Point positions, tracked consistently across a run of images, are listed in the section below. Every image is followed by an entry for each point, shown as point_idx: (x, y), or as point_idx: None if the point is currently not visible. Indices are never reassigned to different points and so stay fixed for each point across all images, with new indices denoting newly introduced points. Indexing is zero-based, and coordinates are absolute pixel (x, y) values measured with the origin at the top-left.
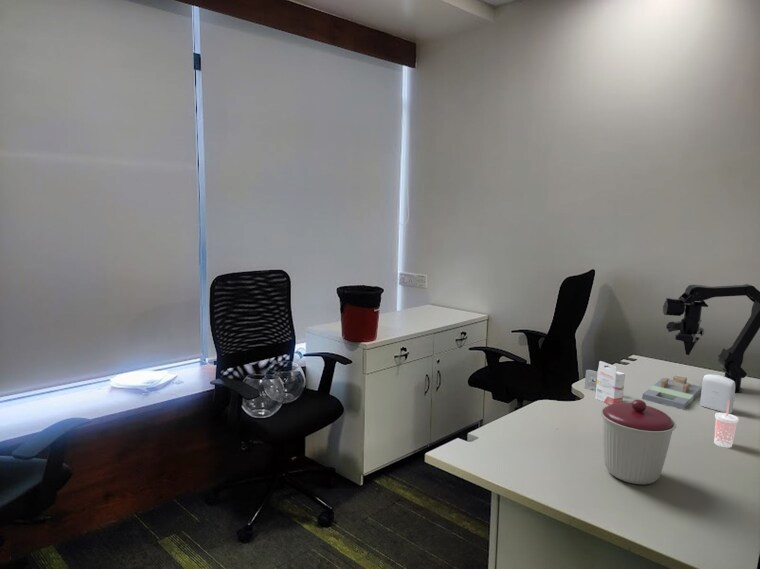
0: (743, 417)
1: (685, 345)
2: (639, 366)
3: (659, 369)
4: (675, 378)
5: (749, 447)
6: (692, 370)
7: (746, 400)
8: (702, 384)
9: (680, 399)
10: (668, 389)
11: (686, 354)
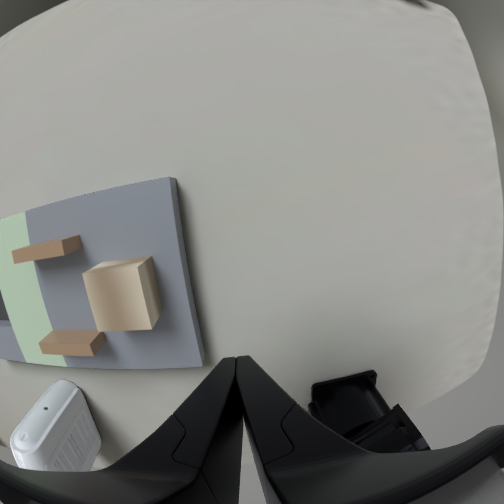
0: (98, 456)
1: (159, 444)
2: (351, 18)
3: (391, 92)
4: (87, 284)
5: (5, 444)
6: (476, 211)
7: (249, 453)
8: (19, 424)
9: (3, 341)
10: (33, 278)
11: (222, 363)
